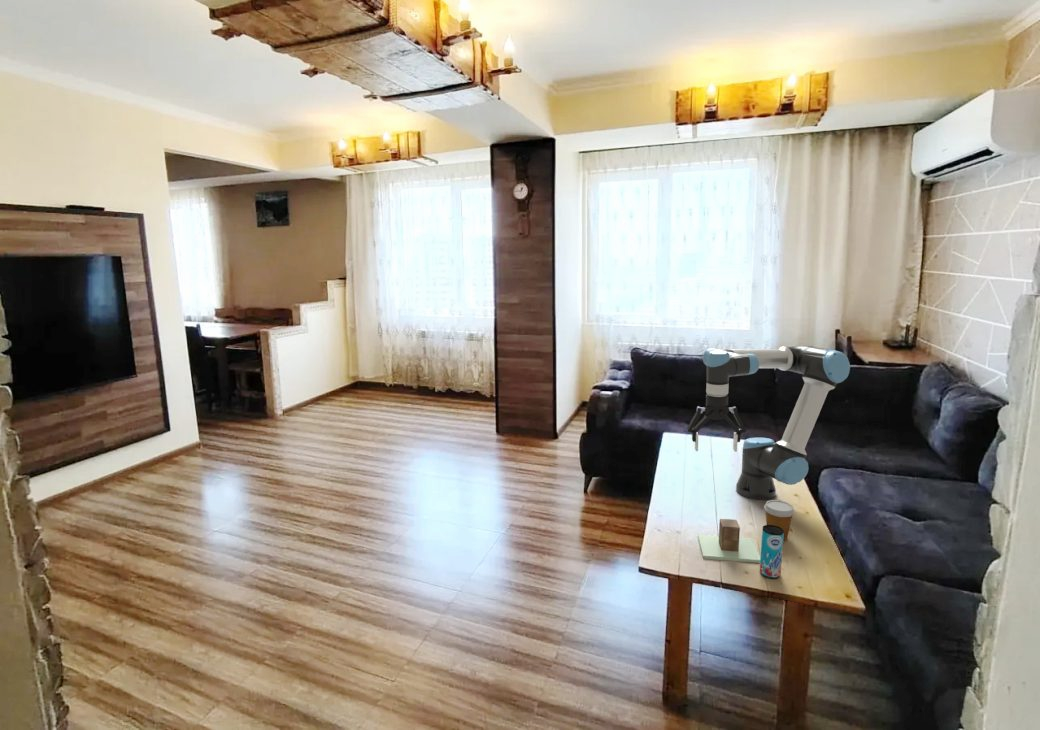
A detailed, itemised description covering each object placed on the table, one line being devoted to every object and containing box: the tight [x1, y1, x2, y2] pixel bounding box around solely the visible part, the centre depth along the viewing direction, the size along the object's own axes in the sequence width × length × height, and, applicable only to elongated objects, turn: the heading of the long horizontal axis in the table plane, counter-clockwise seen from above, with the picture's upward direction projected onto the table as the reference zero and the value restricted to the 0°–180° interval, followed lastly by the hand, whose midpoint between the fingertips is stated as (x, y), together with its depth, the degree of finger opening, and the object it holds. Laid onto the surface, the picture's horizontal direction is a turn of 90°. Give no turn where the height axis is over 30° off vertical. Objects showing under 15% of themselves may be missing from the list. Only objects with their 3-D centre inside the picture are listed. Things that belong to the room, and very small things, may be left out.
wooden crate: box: [718, 518, 741, 551], centre depth 180 cm, size 5×5×9 cm
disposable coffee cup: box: [763, 499, 796, 543], centre depth 187 cm, size 10×10×12 cm
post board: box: [697, 534, 761, 564], centre depth 180 cm, size 18×14×7 cm
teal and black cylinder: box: [759, 524, 784, 580], centre depth 165 cm, size 6×6×15 cm
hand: (715, 450), depth 197 cm, fingers open, 13 cm apart
